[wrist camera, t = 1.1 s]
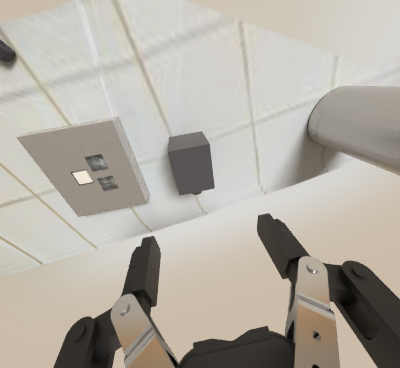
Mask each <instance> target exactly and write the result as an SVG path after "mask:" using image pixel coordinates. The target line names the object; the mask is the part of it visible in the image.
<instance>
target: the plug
mask: <svg viewBox="0 0 400 368" xmlns="http://www.w3.org/2000/svg"><path fill="white" fill-rule="evenodd" d="M168 154H169V158H170V161H171V165H172V169H173V172H174V176H175V180H176V184H177V187H178V191H179V195H184V194H189V193H192V194H194V195H197V194H200V193H201V192H202V191H204V190H209V189H213V188H214V179H213V170H212V161H211V152H210V144H209V142H208V141H207V139H206V137H205V136H204V134H203V133H202V131H201V132H196V133H191V134H185V135H180V136H175V137H169V144H168Z"/></svg>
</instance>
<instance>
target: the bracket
mask: <svg viewBox="0 0 400 368" xmlns="http://www.w3.org/2000/svg"><path fill="white" fill-rule="evenodd" d="M14 53H15V52H14V51H13V50H12V49H11V48H10V47H8V46H7V45H6V44H5V43H4V42H3V41H1V40H0V60H3V61H7V62H9V61H10V60H11V58H12V56H13V55H14Z"/></svg>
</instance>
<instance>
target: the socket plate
mask: <svg viewBox="0 0 400 368" xmlns="http://www.w3.org/2000/svg"><path fill="white" fill-rule="evenodd" d="M16 138H17V139H18V140H19V141H20V143H21V144H22V145H23V147H24V148H25V149H26V150H27V152H28V153H29V154H30V156H31V157H32V158H33V159H34V161H35V162H36V163H37V164H38V166H39V167H40V168H41V170H42V171H43V172H44V173H45V175H46V176H47V177H48V179H49V180H50V181H51V182H52V184H53V185H54V186H55V187H56V189H57V190H58V191H59V193H60V194H61V195H62V196H63V198H64V199H65V200H66V202H67V203H68V204H69V205H70V207H71V208H72V209H73V210H74V212H75V213H76V214H77V216H78V217H81V216H86V215H91V214H95V213H100V212H105V211H110V210H115V209H120V208H125V207H130V206H135V205H140V204H144V203H147V201H148V197H149V191H148V189H147V186H146V184H145V181H144V179H143V176H142V174H141V171H140V169H139V166H138V164H137V161H136V159H135V156H134V154H133V151H132V149H131V146H130V144H129V141H128V139H127V136H126V134H125V131H124V129H123V126H122V124H121V121H120V119H119V117H113V118H108V119H102V120H96V121H91V122H85V123H79V124H74V125H68V126H63V127H57V128H51V129H46V130H40V131H35V132H31V133H28V134H25V135H22V136H19V137H16ZM98 154H101V155H102V156H103V158H104V160H105V162H106V163H101V164H100V162H99V160H98V158H97V156H96V155H98ZM85 169H87V171H88V172H89V174H90V176H91V177H92V179H93V182H90V183H85V184H79V183H78V181H77V180H76V178H75V177H74V175H73V174H72V173H73V172H75V171H80V170H85ZM108 176H113V178H114V180H115V181H112V182H110V180H109V178H108Z"/></svg>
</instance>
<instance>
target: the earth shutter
mask: <svg viewBox="0 0 400 368" xmlns="http://www.w3.org/2000/svg"><path fill="white" fill-rule="evenodd" d="M72 174H73V175H74V177H75V178H76V180H77V181H78V183H79V184H85V183H90V182H93V179H92V177H91V176H90V174H89V172H88V171H87V169H85V170H80V171H75V172H73V173H72Z"/></svg>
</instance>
